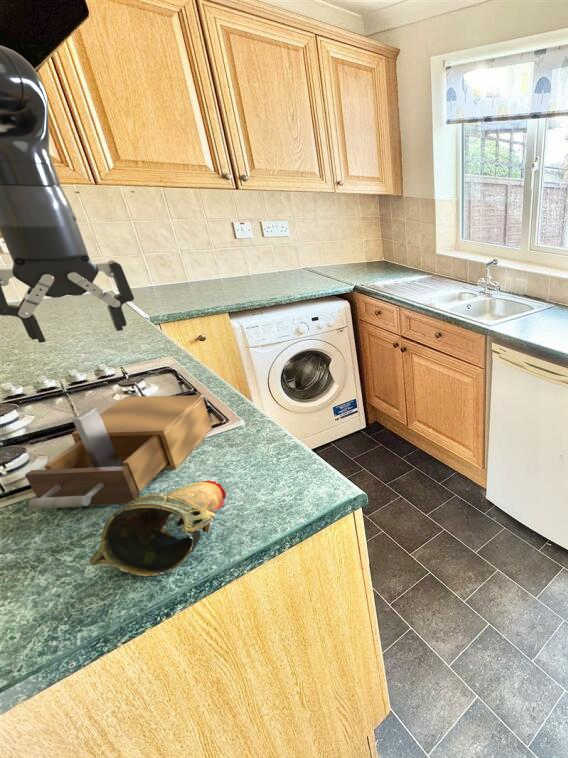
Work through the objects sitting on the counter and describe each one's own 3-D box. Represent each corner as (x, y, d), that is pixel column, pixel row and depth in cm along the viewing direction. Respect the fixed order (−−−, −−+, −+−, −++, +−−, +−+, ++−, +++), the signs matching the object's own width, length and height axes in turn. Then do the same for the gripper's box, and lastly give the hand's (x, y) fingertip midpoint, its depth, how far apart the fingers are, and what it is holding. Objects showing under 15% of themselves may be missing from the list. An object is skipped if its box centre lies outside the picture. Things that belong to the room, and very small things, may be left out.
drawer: (116, 523, 66) (101, 489, 63) (16, 530, 64) (-5, 495, 61) (179, 456, 83) (169, 427, 80) (101, 459, 80) (88, 429, 77)
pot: (248, 449, 73) (181, 487, 55) (274, 507, 74) (218, 562, 57) (147, 484, 71) (45, 535, 53) (176, 542, 73) (87, 610, 55)
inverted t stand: (73, 490, 71) (41, 423, 65) (98, 468, 76) (70, 405, 71) (127, 487, 72) (99, 421, 67) (148, 466, 78) (124, 404, 72)
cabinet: (176, 468, 81) (163, 430, 77) (88, 472, 78) (70, 433, 74) (212, 429, 94) (202, 395, 90) (138, 431, 91) (125, 396, 87)
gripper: (102, 218, 64) (136, 321, 71) (-46, 218, 54) (10, 338, 61) (113, 223, 60) (148, 332, 66) (-46, 224, 49) (14, 352, 56)
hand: (82, 335), depth 63 cm, fingers open, 8 cm apart
